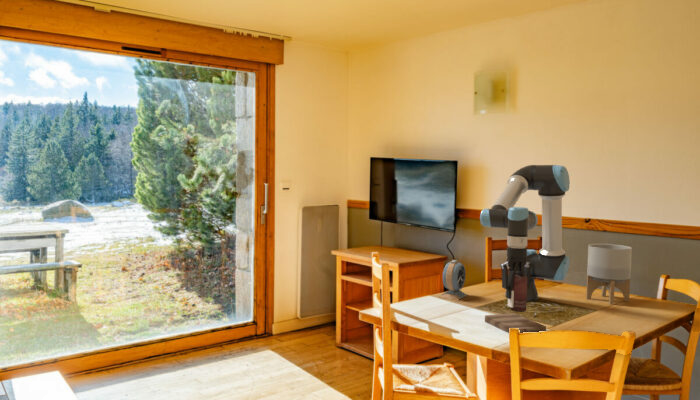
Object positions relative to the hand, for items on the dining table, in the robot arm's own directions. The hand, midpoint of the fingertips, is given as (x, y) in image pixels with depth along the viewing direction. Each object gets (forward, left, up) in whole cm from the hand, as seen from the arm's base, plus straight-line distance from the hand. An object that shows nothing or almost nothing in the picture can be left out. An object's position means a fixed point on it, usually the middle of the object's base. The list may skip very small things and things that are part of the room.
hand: (514, 306), depth 214 cm
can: (0, +1, -2) cm, 2 cm away
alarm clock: (-53, +3, -9) cm, 54 cm away
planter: (-27, +72, -8) cm, 77 cm away
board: (+1, 0, -8) cm, 8 cm away
